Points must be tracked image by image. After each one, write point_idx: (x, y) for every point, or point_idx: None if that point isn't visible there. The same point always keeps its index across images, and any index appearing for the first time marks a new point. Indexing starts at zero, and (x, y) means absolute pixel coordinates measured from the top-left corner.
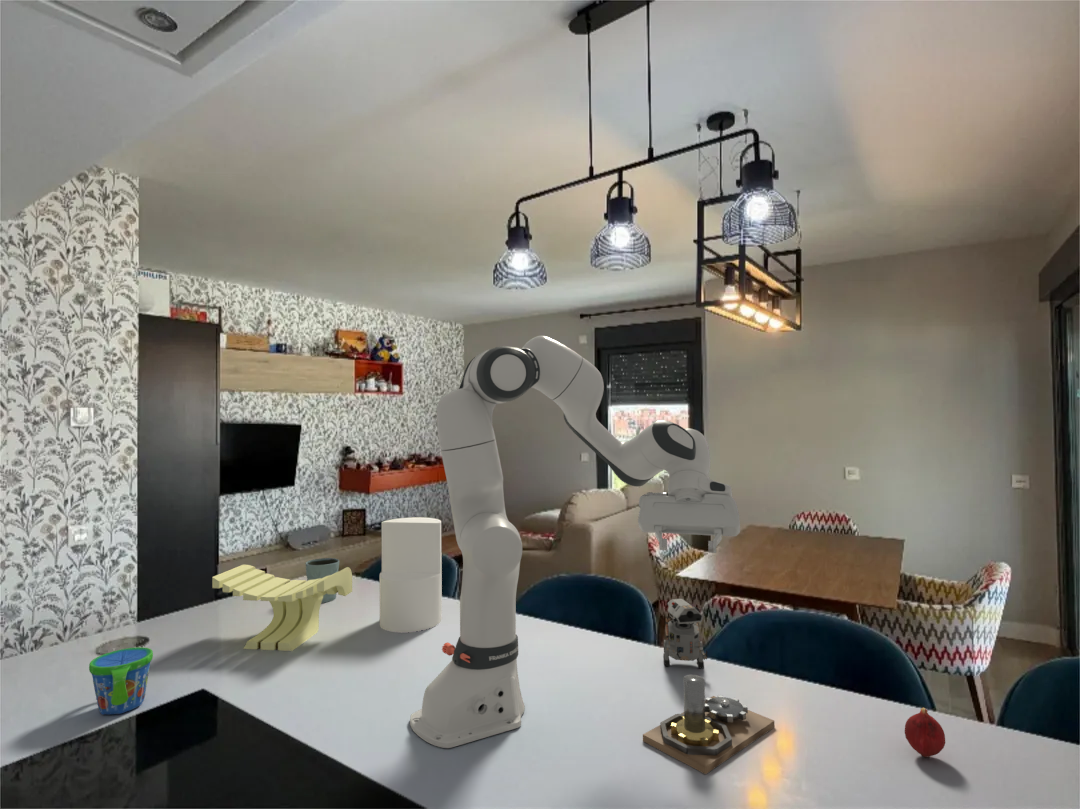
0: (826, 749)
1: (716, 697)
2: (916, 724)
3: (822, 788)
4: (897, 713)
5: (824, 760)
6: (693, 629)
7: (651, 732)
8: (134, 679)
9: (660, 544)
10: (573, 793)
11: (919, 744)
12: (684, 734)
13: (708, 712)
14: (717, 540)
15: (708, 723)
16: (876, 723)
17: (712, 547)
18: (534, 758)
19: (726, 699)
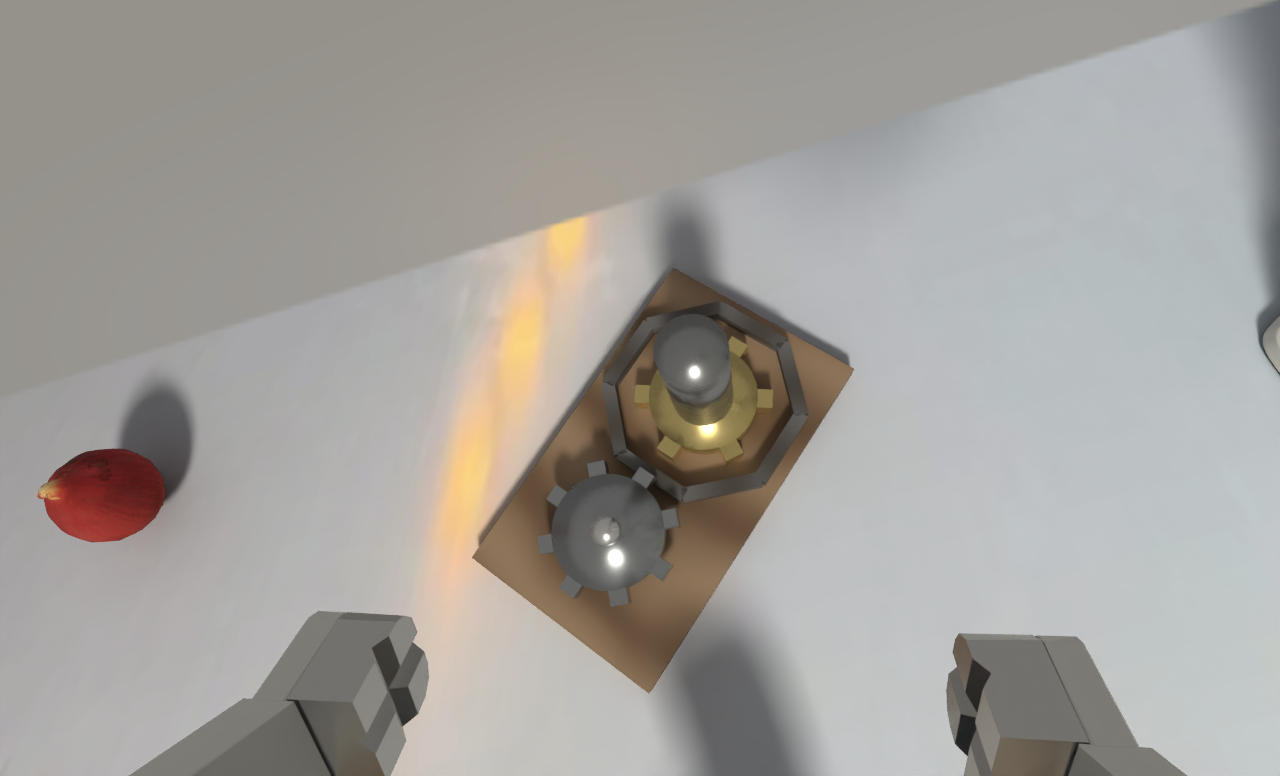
0: (371, 472)
1: (633, 582)
2: (104, 468)
3: (426, 302)
4: (108, 745)
5: (390, 418)
6: None
7: (830, 386)
8: None
9: (1063, 639)
10: (969, 118)
11: (144, 458)
12: (729, 350)
13: (666, 557)
14: (226, 721)
15: (662, 430)
16: (193, 659)
17: (352, 617)
18: (1128, 210)
19: (598, 542)
